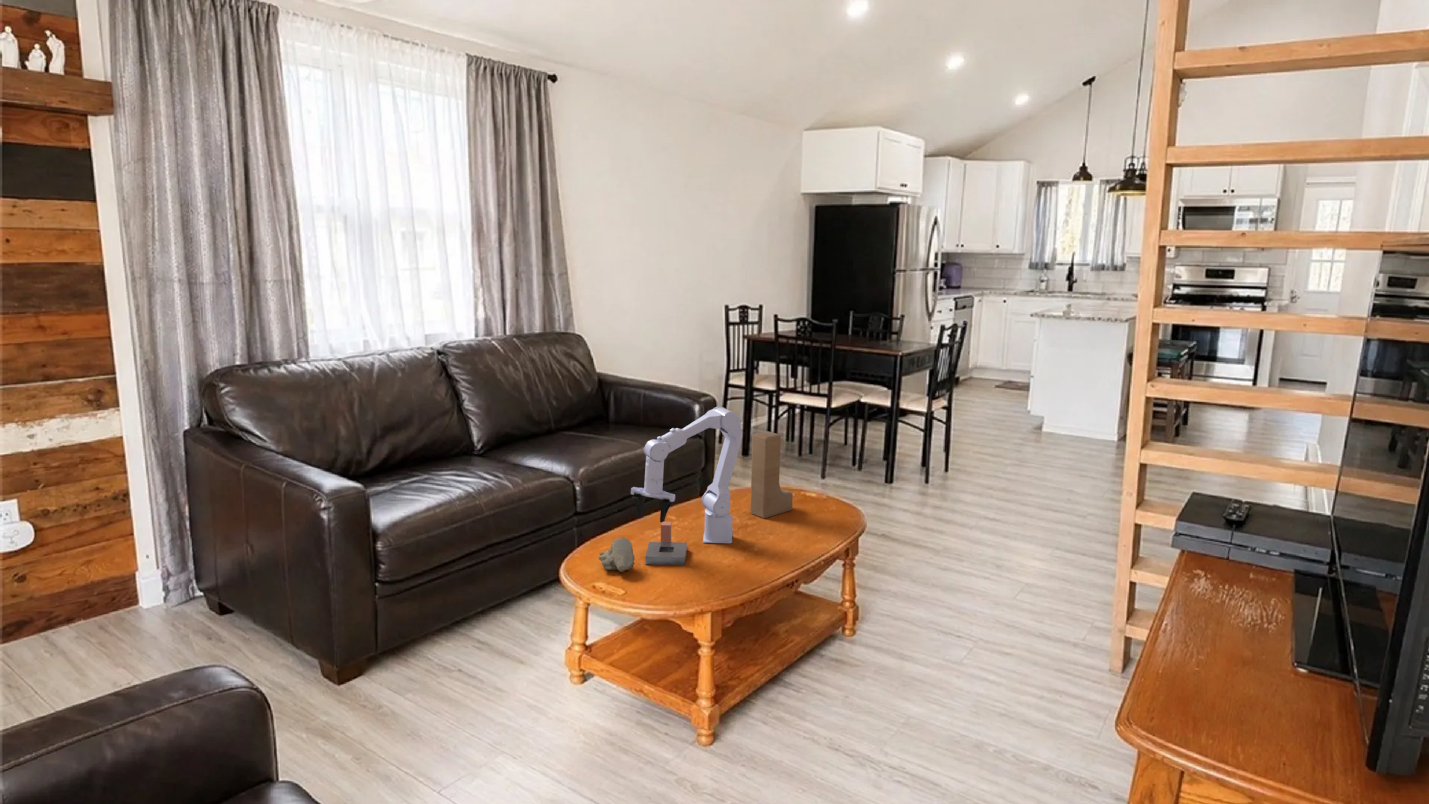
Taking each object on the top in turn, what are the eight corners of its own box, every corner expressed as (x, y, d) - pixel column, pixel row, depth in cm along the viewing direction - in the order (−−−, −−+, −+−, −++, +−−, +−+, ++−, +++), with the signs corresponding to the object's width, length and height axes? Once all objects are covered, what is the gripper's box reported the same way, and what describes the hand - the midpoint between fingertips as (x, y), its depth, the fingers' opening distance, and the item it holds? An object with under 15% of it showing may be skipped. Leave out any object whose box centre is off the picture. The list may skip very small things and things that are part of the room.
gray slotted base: (686, 550, 260) (686, 542, 260) (684, 565, 249) (684, 557, 248) (649, 549, 260) (649, 541, 260) (645, 564, 249) (645, 556, 248)
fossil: (624, 571, 252) (594, 561, 250) (636, 539, 253) (607, 529, 250) (631, 583, 238) (599, 572, 236) (644, 549, 239) (612, 538, 236)
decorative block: (792, 510, 299) (795, 431, 293) (764, 519, 289) (766, 437, 283) (778, 505, 305) (780, 427, 299) (749, 513, 295) (751, 433, 289)
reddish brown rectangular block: (671, 542, 267) (671, 521, 265) (670, 545, 264) (670, 525, 262) (661, 541, 267) (661, 521, 265) (660, 545, 264) (660, 525, 262)
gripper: (627, 477, 254) (625, 518, 257) (669, 484, 250) (667, 527, 252) (637, 472, 261) (635, 512, 263) (678, 479, 256) (676, 520, 259)
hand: (651, 519), depth 258 cm, fingers open, 7 cm apart
